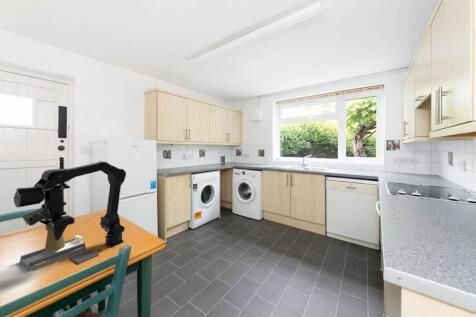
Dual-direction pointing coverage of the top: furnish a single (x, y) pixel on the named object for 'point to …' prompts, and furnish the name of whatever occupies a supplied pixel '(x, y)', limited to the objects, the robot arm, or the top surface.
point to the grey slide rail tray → (49, 256)
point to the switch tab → (72, 243)
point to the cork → (53, 241)
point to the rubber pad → (84, 256)
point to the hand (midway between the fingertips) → (55, 238)
